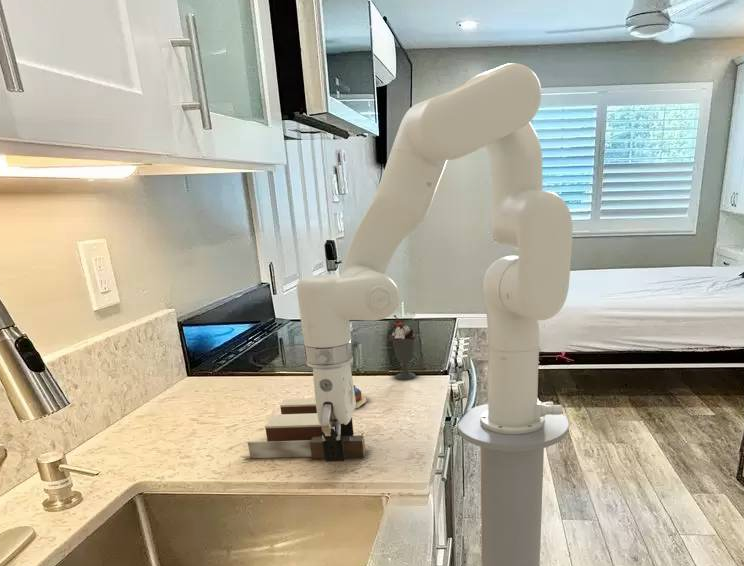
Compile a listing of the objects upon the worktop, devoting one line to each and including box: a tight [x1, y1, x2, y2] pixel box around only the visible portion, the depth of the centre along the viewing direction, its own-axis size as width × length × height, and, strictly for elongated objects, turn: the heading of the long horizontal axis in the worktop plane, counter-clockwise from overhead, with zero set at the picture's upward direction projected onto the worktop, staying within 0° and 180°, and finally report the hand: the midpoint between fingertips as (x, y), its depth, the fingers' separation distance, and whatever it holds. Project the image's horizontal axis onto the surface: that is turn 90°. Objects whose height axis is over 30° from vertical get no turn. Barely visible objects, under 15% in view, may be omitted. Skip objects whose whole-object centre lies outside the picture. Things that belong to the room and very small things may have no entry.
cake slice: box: [279, 397, 334, 421], centre depth 113 cm, size 10×4×5 cm, turn 90°
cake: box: [264, 413, 322, 442], centre depth 104 cm, size 10×6×5 cm, turn 90°
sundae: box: [388, 314, 418, 381], centre depth 136 cm, size 7×7×15 cm
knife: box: [247, 434, 366, 460], centre depth 99 cm, size 20×2×3 cm, turn 90°
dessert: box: [353, 384, 367, 409], centre depth 123 cm, size 8×7×6 cm
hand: (340, 447), depth 99 cm, fingers open, 9 cm apart
